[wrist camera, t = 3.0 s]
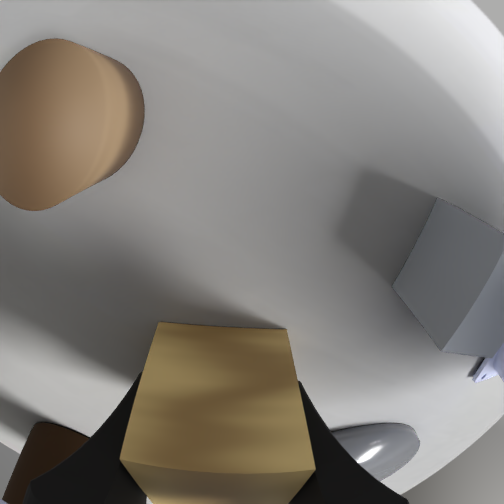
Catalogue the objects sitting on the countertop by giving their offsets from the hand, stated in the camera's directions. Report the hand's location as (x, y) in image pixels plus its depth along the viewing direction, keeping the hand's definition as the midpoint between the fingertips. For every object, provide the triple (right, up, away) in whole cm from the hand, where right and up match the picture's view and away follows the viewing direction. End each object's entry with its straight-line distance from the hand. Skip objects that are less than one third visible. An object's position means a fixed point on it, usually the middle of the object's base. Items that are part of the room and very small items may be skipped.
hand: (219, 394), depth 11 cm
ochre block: (0, +1, +1) cm, 1 cm away
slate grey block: (+9, +6, 0) cm, 11 cm away
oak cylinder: (-4, +10, -3) cm, 11 cm away
